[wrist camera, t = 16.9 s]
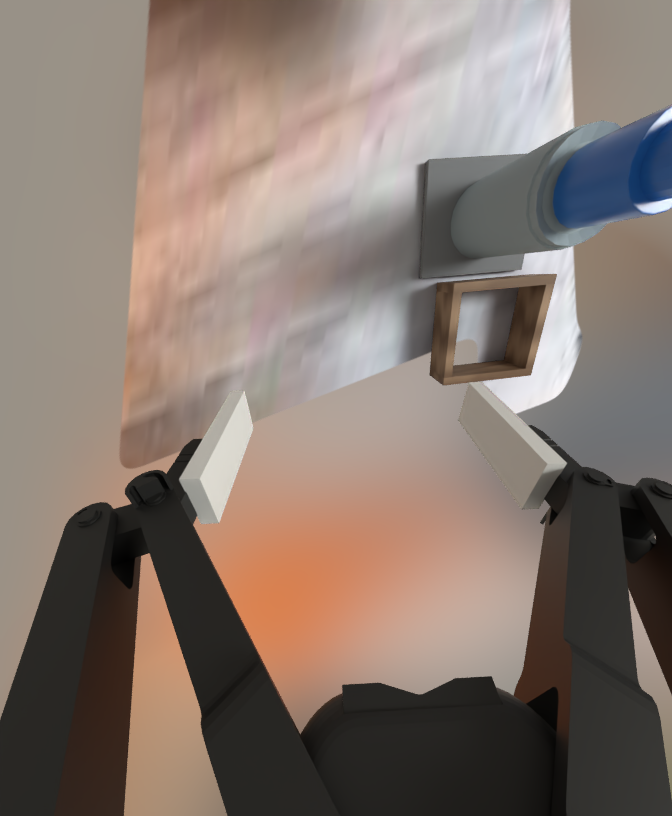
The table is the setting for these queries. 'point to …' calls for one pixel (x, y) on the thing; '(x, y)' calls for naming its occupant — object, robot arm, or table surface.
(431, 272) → the rubber mat
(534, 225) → the spray bottle
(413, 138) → the table surface
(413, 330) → the table surface
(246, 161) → the table surface
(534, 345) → the walnut collar
